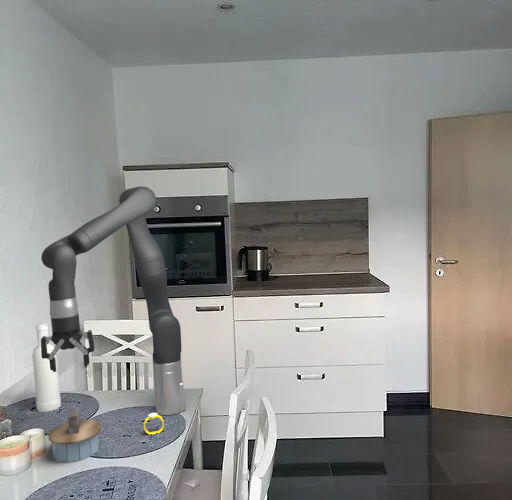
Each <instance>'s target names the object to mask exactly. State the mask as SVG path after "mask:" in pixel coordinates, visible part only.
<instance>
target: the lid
mask: <svg viewBox="0 0 512 500" xmlns="http://www.w3.org/2000/svg"><path fill="white" fill-rule="evenodd" d="M80 417H81V416H80V409H79V408H77V409H70V410H69V412H68V416H67V422H64V423H61V424H60V425H57V426H55V427H54V428H52V429H51V430H50V431H49V433H48V435H47V436H48V437H47V438H48V441H49V442H50V443H51V444H52V443H54V444H61V445H66V444H74V443H79V442H82V441H85V440H88V439H90V438H92V437H94V436H95V435H97V434H98V435H99V433H100V432H101V430H102V424H101V423H100V422H99V421H97V420H94V419H80Z"/></svg>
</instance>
